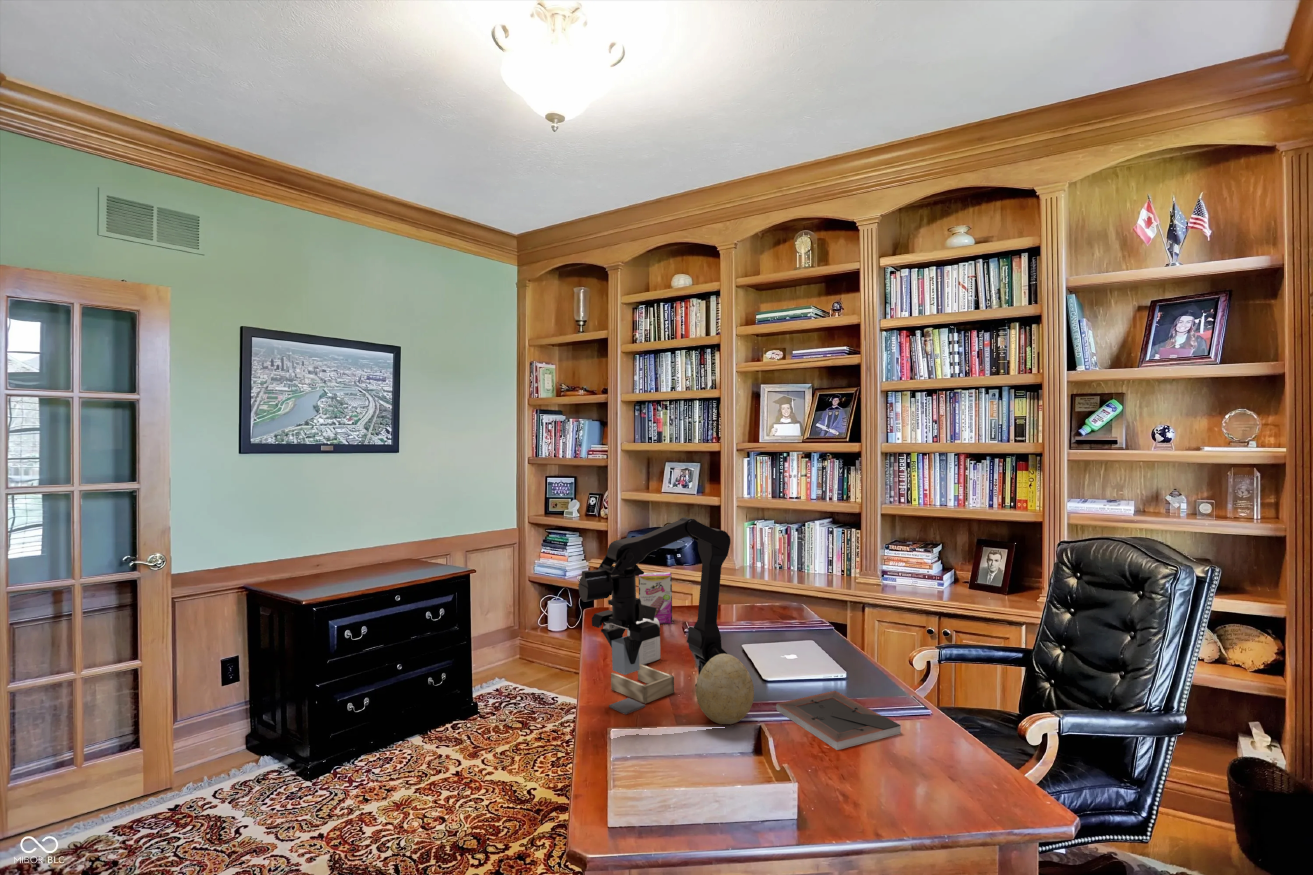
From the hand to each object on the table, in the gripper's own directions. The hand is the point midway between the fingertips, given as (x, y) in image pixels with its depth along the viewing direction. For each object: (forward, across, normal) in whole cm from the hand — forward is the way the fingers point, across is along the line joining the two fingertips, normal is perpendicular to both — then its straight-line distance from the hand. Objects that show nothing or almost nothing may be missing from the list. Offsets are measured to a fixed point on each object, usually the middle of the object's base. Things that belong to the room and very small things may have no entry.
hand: (626, 661), depth 161 cm
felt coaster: (+11, 0, 0) cm, 11 cm away
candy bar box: (+11, +46, -51) cm, 69 cm away
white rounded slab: (+11, +20, -23) cm, 32 cm away
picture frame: (+12, -39, -27) cm, 49 cm away
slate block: (+2, 0, 0) cm, 2 cm away
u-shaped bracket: (+11, +5, -9) cm, 15 cm away
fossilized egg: (+11, -22, -10) cm, 27 cm away
